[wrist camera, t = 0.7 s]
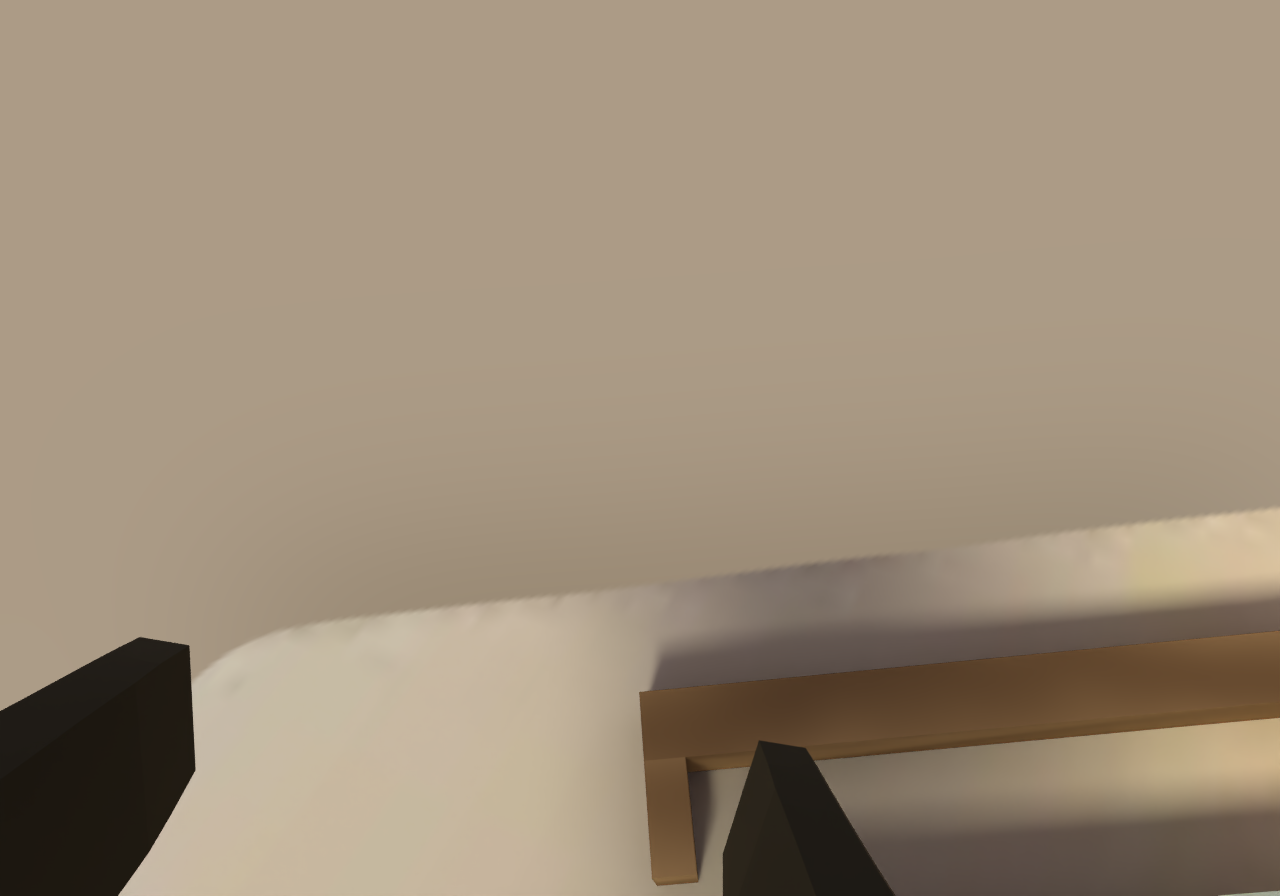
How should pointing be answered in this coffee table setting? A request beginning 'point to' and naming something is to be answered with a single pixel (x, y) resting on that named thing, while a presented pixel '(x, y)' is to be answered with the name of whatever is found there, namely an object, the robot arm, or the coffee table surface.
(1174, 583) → the coffee table surface
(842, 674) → the end rail
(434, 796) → the coffee table surface
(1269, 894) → the slat
